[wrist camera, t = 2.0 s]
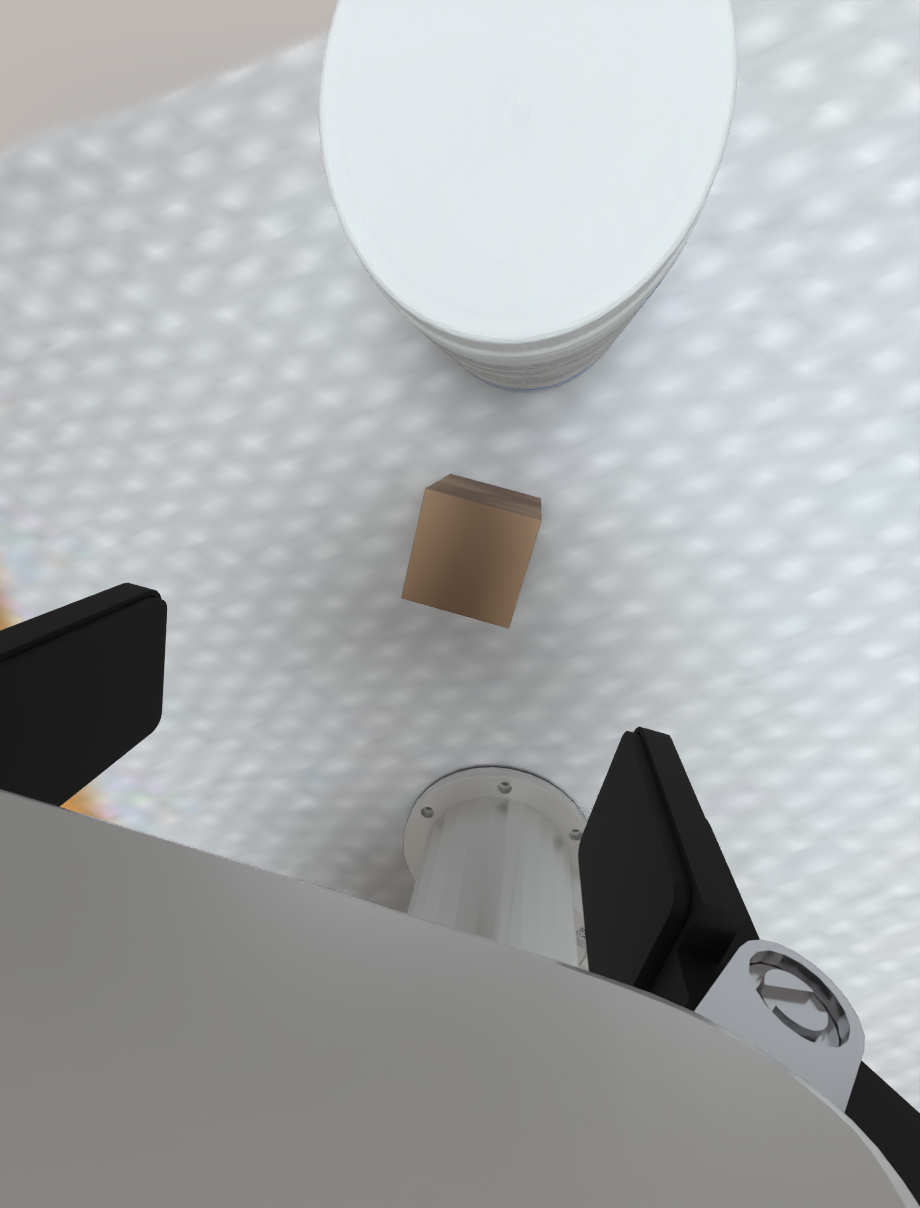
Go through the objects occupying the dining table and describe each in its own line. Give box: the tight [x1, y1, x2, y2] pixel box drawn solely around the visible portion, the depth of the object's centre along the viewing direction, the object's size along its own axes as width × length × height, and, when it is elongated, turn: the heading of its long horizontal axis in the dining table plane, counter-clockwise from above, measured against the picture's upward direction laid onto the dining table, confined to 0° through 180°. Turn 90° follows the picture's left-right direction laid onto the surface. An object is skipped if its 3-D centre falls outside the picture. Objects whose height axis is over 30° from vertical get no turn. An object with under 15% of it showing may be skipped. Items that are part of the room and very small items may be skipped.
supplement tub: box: [319, 0, 737, 392], centre depth 19 cm, size 10×10×15 cm
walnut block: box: [401, 474, 541, 628], centre depth 26 cm, size 5×5×7 cm
